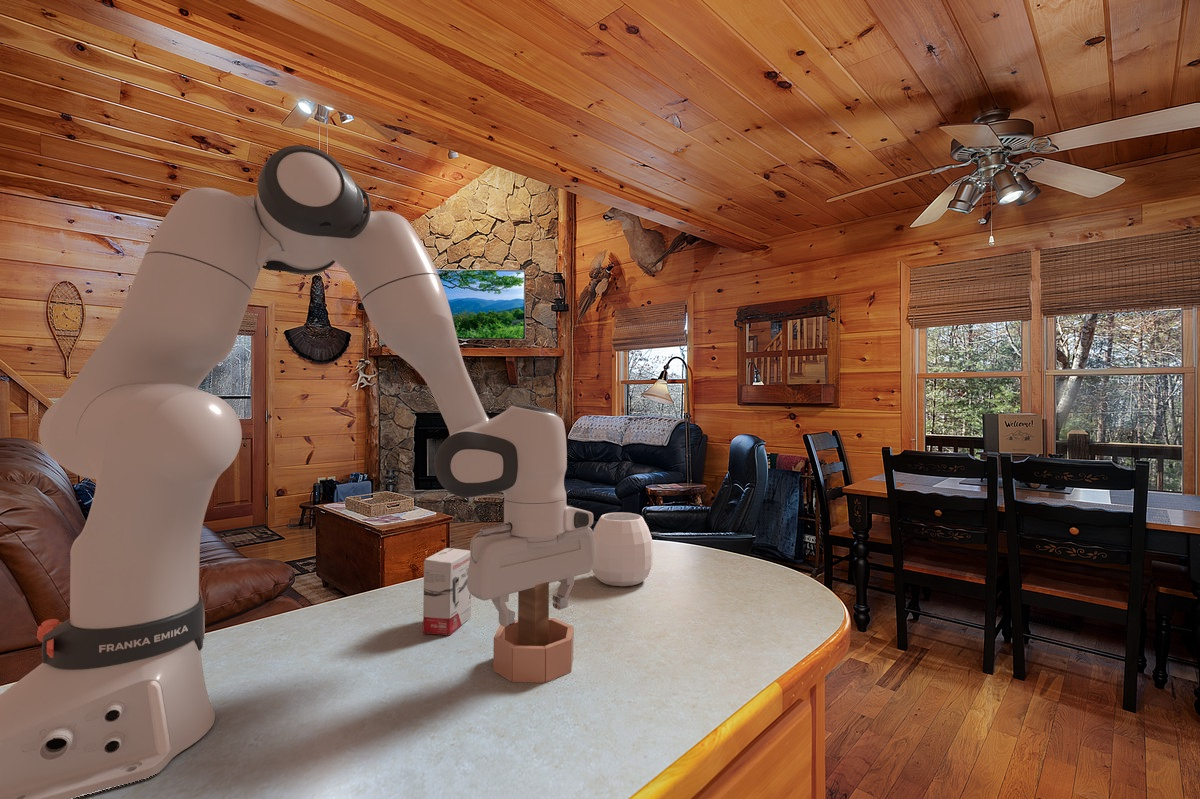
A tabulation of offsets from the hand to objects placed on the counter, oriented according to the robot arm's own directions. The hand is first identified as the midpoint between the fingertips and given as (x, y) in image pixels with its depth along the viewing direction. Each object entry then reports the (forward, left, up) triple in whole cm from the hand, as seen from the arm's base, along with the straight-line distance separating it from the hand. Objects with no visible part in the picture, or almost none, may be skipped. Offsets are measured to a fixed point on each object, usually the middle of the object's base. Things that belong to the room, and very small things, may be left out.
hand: (534, 615), depth 82 cm
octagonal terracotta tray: (0, 0, -7) cm, 7 cm away
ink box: (-2, +21, -7) cm, 22 cm away
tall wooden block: (0, 0, -6) cm, 6 cm away
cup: (+36, +18, -7) cm, 41 cm away
